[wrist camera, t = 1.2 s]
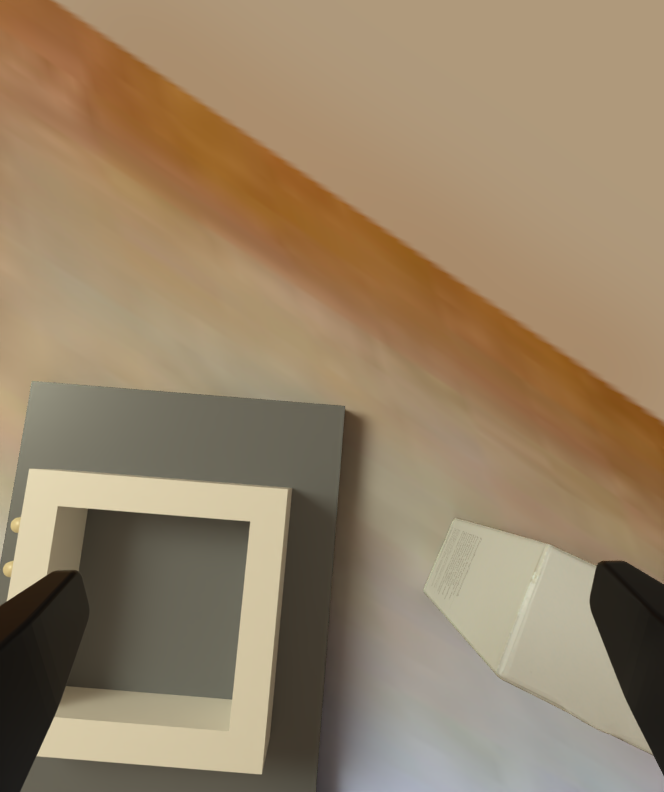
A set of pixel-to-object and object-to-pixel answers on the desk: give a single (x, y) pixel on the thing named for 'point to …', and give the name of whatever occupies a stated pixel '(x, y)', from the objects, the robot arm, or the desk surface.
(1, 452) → the desk surface
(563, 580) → the skincare box
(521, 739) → the desk surface
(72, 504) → the socket board
